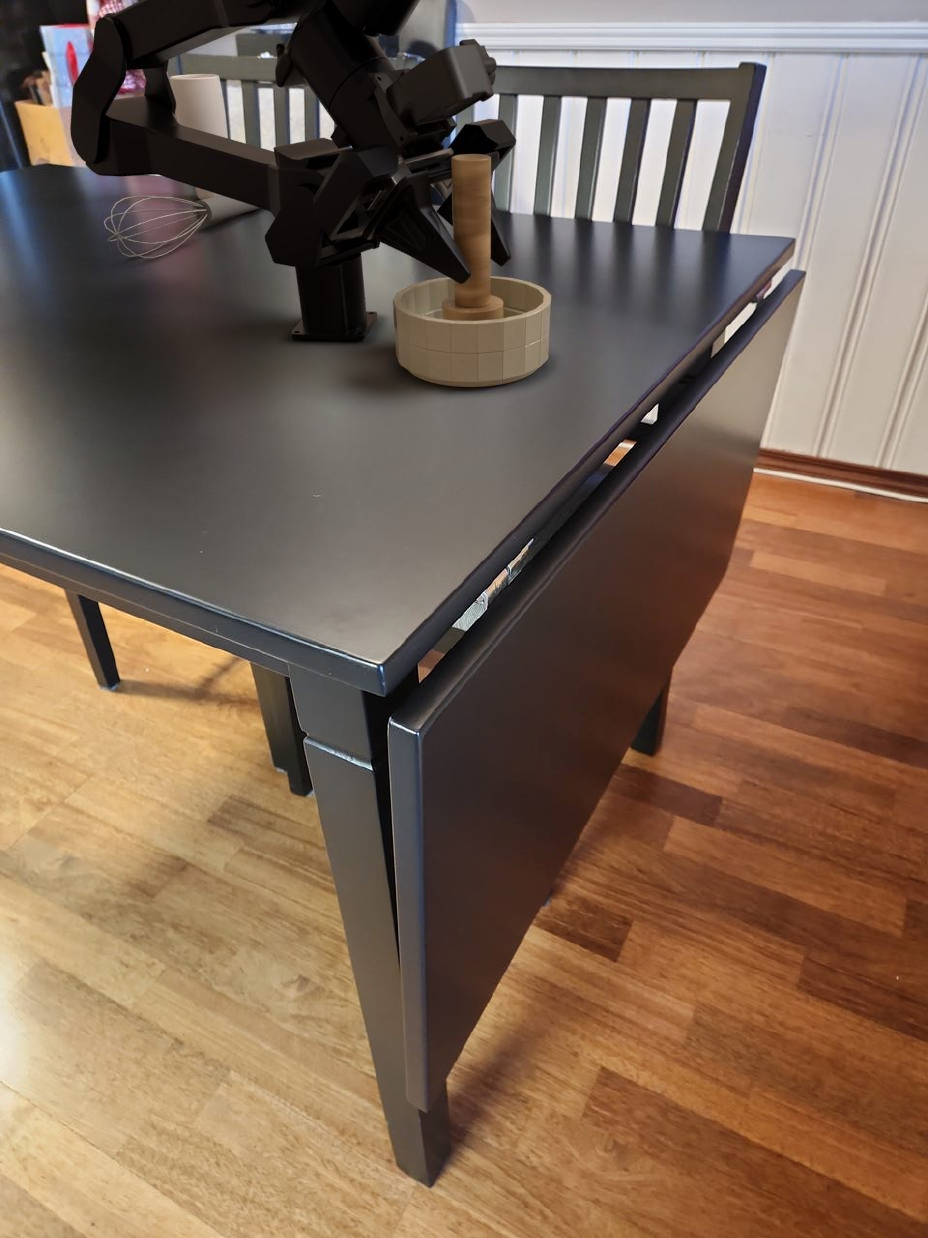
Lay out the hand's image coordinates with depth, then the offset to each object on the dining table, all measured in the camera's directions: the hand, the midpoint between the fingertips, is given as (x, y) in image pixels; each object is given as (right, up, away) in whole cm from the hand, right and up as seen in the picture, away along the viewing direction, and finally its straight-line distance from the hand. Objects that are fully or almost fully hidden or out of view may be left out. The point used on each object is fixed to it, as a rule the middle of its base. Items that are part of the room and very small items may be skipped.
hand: (487, 270), depth 62 cm
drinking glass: (-38, +35, +59) cm, 78 cm away
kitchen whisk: (-35, +22, +42) cm, 59 cm away
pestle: (-1, -5, +5) cm, 7 cm away
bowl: (-1, -5, +5) cm, 7 cm away
